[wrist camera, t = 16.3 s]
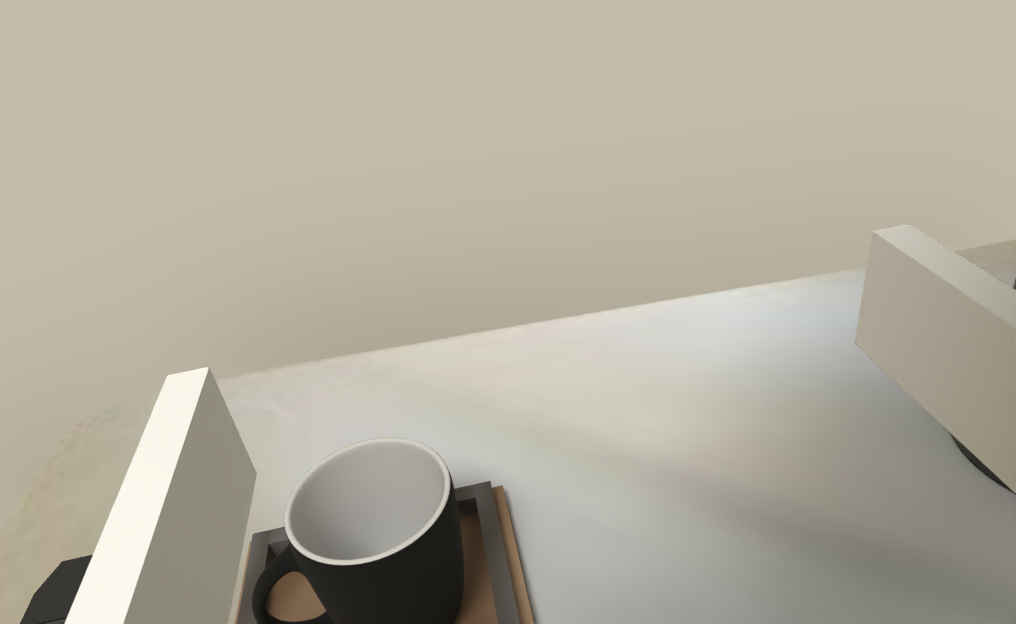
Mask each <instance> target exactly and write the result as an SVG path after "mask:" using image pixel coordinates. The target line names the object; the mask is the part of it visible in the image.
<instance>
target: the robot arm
mask: <svg viewBox="0 0 1016 624" xmlns="http://www.w3.org/2000/svg"><path fill="white" fill-rule="evenodd" d="M855 344H856V345H857V346H858V347H859V348H860V349H861V350H862V351H863V352H864V353H865V354H866V355H868V356H869V357H870V358H871V359H872V360H873V361H874V362H875V363H876V364H877V365H878V366H879V367H880V368H881V369H883V370H884V371H885V372H886V373H887V374H888V375H889V376H890V377H891V378H892V379H893V380H894V381H895V382H896V383H898V384H899V385H900V386H901V387H902V388H903V389H904V390H905V391H906V392H907V393H908V394H909V395H910V396H911V397H913V398H914V399H915V400H916V401H917V402H918V403H919V404H920V405H921V406H922V407H923V408H924V409H925V410H926V411H928V412H929V413H930V414H931V415H932V416H933V417H934V418H935V419H936V420H937V421H938V422H939V423H940V424H942V425H943V426H944V427H945V428H946V429H947V430H948V431H949V432H950V433H951V434H952V436H953V438H954V439H955V441H956V443H957V444H958V446H959V447H960V449H961V450H962V451H963V452H964V454H965V455H966V456H967V457H968V458H969V459H970V460H971V461H972V462H973V463H974V464H975V465H976V466H977V467H979V468H980V469H981V470H982V471H983V472H985V473H986V474H987V475H989V476H990V477H991V478H993V479H994V480H996V481H997V482H999V483H1000V484H1002V485H1003V486H1005V487H1007V488H1009V489H1010V490H1012V491H1013V492H1014V493H1015V494H1016V279H1015V283H1014V286H1013V288H1012V287H1010V286H1008V285H1007V284H1005V283H1004V282H1002V281H1000V280H999V279H997V278H995V277H994V276H992V275H991V274H989V273H987V272H986V271H984V270H983V269H981V268H979V267H978V266H976V265H974V264H973V263H971V262H970V261H968V260H966V259H965V258H963V257H961V256H960V255H958V254H957V253H955V252H953V251H952V250H950V249H949V248H947V247H945V246H944V245H942V244H940V243H939V242H937V241H936V240H934V239H932V238H931V237H929V236H927V235H926V234H924V233H922V232H921V231H919V230H918V229H916V228H914V227H913V226H911V225H910V224H904V225H900V226H895V227H890V228H885V229H880V230H875V231H872V237H871V244H870V251H869V256H868V263H867V269H866V276H865V282H864V288H863V295H862V301H861V308H860V314H859V321H858V327H857V333H856V340H855ZM256 475H257V473H256V471H255V468H254V466H253V464H252V462H251V459H250V457H249V455H248V453H247V450H246V448H245V446H244V444H243V442H242V439H241V437H240V435H239V433H238V430H237V428H236V426H235V424H234V421H233V419H232V417H231V415H230V412H229V410H228V408H227V406H226V404H225V401H224V399H223V397H222V395H221V392H220V390H219V388H218V386H217V383H216V381H215V379H214V377H213V374H212V372H211V370H210V368H209V367H206V368H202V369H196V370H192V371H187V372H182V373H177V374H172V375H168V376H167V378H166V380H165V383H164V385H163V387H162V390H161V392H160V395H159V397H158V399H157V402H156V404H155V407H154V409H153V411H152V414H151V416H150V419H149V421H148V423H147V426H146V428H145V431H144V433H143V436H142V438H141V440H140V443H139V445H138V448H137V450H136V452H135V455H134V457H133V460H132V462H131V464H130V467H129V469H128V472H127V474H126V477H125V479H124V481H123V484H122V486H121V489H120V491H119V493H118V496H117V498H116V501H115V503H114V505H113V508H112V510H111V513H110V515H109V518H108V520H107V522H106V525H105V527H104V530H103V532H102V534H101V537H100V539H99V542H98V544H97V546H96V549H95V551H94V554H93V555H89V556H85V557H80V558H76V559H71V560H67V561H62V562H61V563H60V565H59V566H58V567H57V568H56V569H55V570H54V572H53V573H52V574H51V575H50V576H49V577H48V578H47V580H46V581H45V582H44V583H43V584H42V585H41V587H40V588H39V589H38V590H37V591H36V592H35V593H34V595H33V597H32V599H31V601H30V604H29V606H28V608H27V610H26V612H25V614H24V616H23V618H22V620H21V623H20V624H228V621H229V616H230V610H231V605H232V600H233V595H234V589H235V584H236V579H237V574H238V569H239V563H240V558H241V553H242V548H243V543H244V537H245V532H246V527H247V522H248V516H249V511H250V506H251V501H252V496H253V490H254V485H255V480H256Z"/></svg>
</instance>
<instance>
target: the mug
mask: <svg viewBox="0 0 1016 624" xmlns="http://www.w3.org/2000/svg"><path fill="white" fill-rule="evenodd" d="M284 525H285V531H286V535H287V538H288V540H289V544H288V546H287V547H286V549H285V550H284V551H283V552H282V553H280V554H279V555H278V556H277V557H276V558H275V559H274V560H273V561H272V562H271V563H270V564H269V565H268V566H267V567H266V568H265V570H264V571H263V572H262V573H261V575H260V576H259V578H258V580H257V582H256V584H255V587H254V590H253V594H252V611H253V615H254V617H255V620H256V622H257V624H454V622H455V620H456V618H457V616H458V613H459V610H460V607H461V603H462V598H463V590H464V555H463V543H462V534H461V526H460V518H459V512H458V506H457V501H456V495H455V491H454V486H453V482H452V479H451V475H450V472H449V470H448V467H447V465H446V464H445V462H444V460H443V459H442V458H441V456H440V455H439V454H438V453H437V452H436V451H434V450H433V449H432V448H430V447H428V446H427V445H424V444H422V443H420V442H417V441H414V440H410V439H404V438H391V437H388V438H376V439H370V440H365V441H362V442H358V443H355V444H352V445H349V446H347V447H344V448H342V449H340V450H338V451H336V452H334V453H332V454H331V455H329V456H327V457H326V458H324V459H323V460H321V461H320V462H319V463H317V464H316V465H315V466H314V467H312V468H311V469H310V470H309V471H308V472H307V473H306V474H305V475H304V476H303V477H302V479H301V480H300V481H299V482H298V484H297V485H296V487H295V488H294V490H293V491H292V493H291V495H290V497H289V500H288V502H287V505H286V508H285V514H284ZM290 572H299V573H301V574H302V575H304V576H305V577H306V579H307V580H308V582H309V583H310V585H311V587H312V588H313V590H314V592H315V593H316V595H317V597H318V598H319V600H320V601H321V603H322V605H323V606H324V608H325V609H326V611H325V612H324V613H323V614H322V615H320V616H318V617H316V618H313V619H310V620H305V621H295V622H290V621H283V620H280V619H277V618H275V617H273V616H272V615H271V614H269V613H268V611H267V610H266V600H267V597H268V594H269V592H270V590H271V589H272V587H273V586H274V585H275V584H276V583H277V582H278V581H279V580H280V579H281V578H282V577H283V576H285V575H286V574H288V573H290Z"/></svg>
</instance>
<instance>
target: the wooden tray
mask: <svg viewBox="0 0 1016 624" xmlns="http://www.w3.org/2000/svg"><path fill="white" fill-rule="evenodd" d="M454 491H455V495H456V501H457V506H458V512H459V518H460V526H461V534H462V543H463V555H464V590H463V598H462V603H461V607H460V610H459V613H458V616H457V618H456V620H455V622H454V624H534V621H533V617H532V613H531V608H530V604H529V599H528V595H527V591H526V586H525V582H524V577H523V573H522V569H521V564H520V560H519V555H518V551H517V547H516V542H515V538H514V533H513V529H512V525H511V520H510V516H509V511H508V507H507V503H506V498H505V494H504V489H503V486H498V487H494V488H492V487H491V482H490V481H488V482H483V483H479V484H474V485H470V486H465V487H461V488H457V489H454ZM288 544H289V540H288V538H287V535H286V531H285V527H282V528H277V529H273V530H268V531H264V532H259V533H255V534H253V536H252V542H250V544H249V550H248V555H247V561H246V566H245V572H244V577H243V583H242V588H241V594H240V599H239V605H238V610H237V616H236V621H235V624H257V622H256V620H255V617H254V615H253V611H252V594H253V590H254V587H255V584H256V582H257V580H258V578H259V576H260V575H261V573H262V572H263V571H264V570H265V568H266V567H267V566H268V565H269V564H270V563H271V562H272V561H273V560H274V559H275V558H276V557H277V556H278V555H279V554H280V553H282V552H283V551H284V550H285V549H286V547H287V546H288ZM266 610H267V611H268V613H269V614H271V615H272V616H273V617H275V618H277V619H280V620H283V621H290V622H295V621H305V620H310V619H313V618H316V617H318V616H320V615H322V614H323V613H324V612H325V611H326V609H325V608H324V606H323V605H322V603H321V601H320V600H319V598H318V597H317V595H316V593H315V592H314V590H313V588H312V587H311V585H310V583H309V582H308V580H307V579H306V577H305V576H304V575H302V574H301V573H299V572H290V573H288V574H286V575H285V576H283V577H282V578H281V579H280V580H279V581H278V582H277V583H276V584H275V585H274V586H273V587H272V589H271V590H270V592H269V594H268V597H267V600H266Z"/></svg>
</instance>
